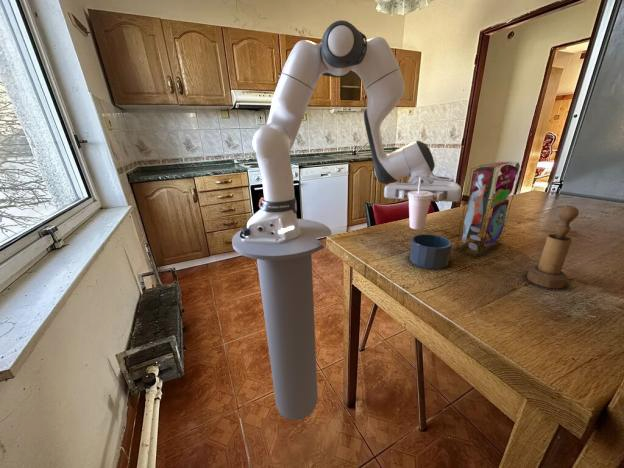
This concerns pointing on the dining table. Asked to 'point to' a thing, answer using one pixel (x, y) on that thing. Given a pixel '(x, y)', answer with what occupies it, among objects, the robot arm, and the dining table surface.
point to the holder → (430, 251)
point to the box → (480, 199)
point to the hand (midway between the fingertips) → (420, 198)
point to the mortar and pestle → (554, 253)
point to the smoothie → (419, 207)
